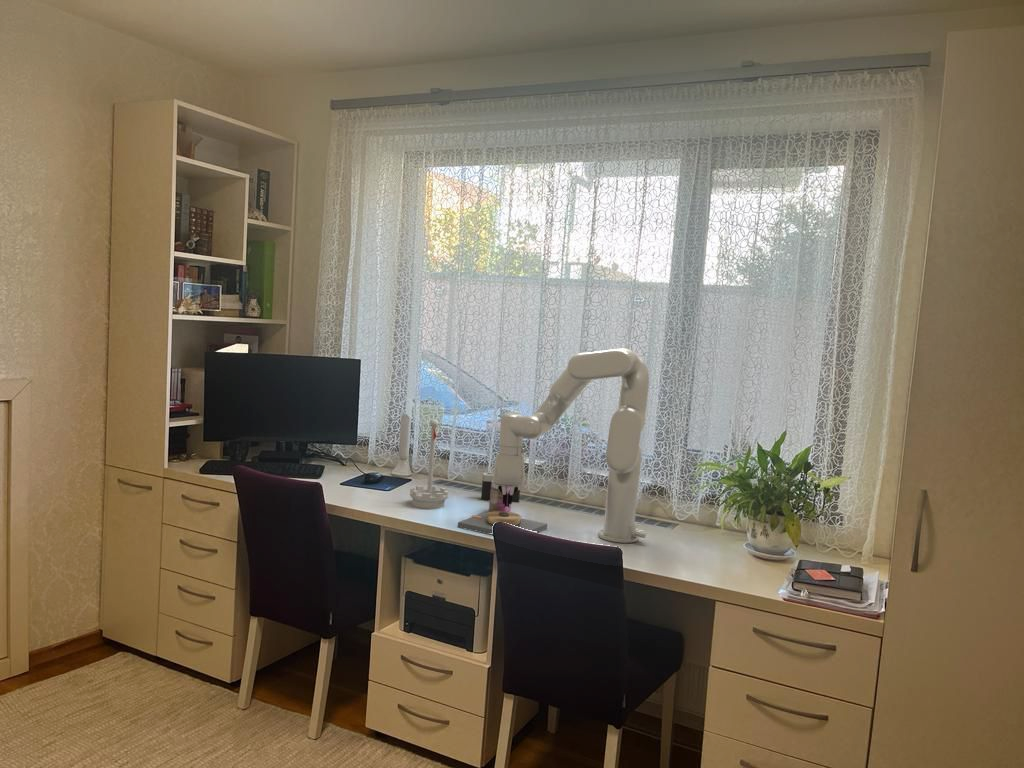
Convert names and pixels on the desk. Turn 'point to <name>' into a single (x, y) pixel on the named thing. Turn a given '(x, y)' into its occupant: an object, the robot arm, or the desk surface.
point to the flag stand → (429, 482)
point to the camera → (487, 488)
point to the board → (483, 526)
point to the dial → (500, 512)
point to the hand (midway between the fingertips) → (506, 505)
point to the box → (501, 499)
